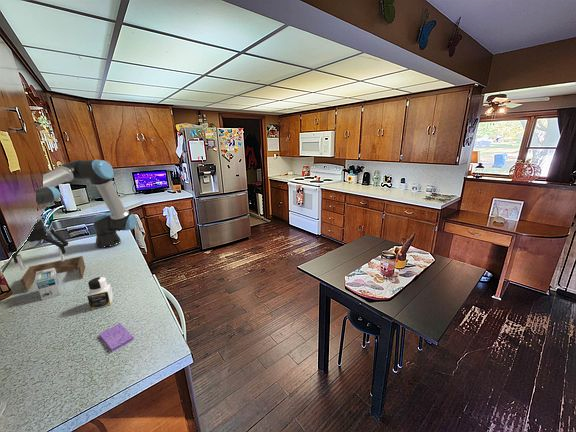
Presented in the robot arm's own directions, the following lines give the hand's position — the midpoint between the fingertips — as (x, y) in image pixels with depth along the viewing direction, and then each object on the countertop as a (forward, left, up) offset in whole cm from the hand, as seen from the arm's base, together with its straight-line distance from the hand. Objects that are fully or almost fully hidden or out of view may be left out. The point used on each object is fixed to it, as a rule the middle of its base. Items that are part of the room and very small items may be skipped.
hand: (43, 264), depth 110 cm
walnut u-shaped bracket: (0, -17, -15) cm, 23 cm away
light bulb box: (0, 0, -15) cm, 15 cm away
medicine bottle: (-20, +25, -15) cm, 36 cm away
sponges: (-25, +54, -16) cm, 62 cm away
